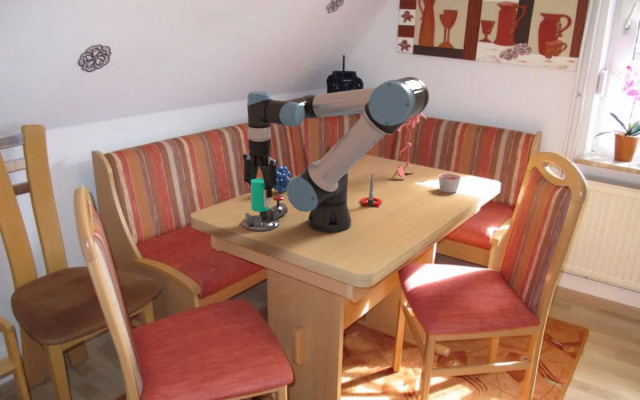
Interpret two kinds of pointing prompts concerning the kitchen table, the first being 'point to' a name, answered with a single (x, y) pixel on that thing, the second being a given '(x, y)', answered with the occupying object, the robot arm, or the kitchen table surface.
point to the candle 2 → (449, 182)
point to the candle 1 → (258, 195)
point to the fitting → (266, 217)
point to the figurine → (408, 143)
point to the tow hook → (371, 197)
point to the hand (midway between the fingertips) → (260, 204)
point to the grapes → (282, 178)
